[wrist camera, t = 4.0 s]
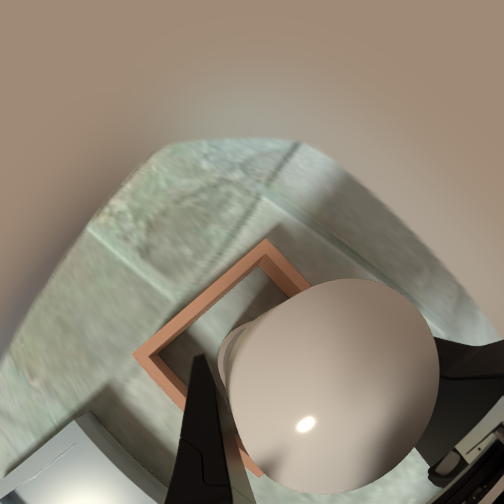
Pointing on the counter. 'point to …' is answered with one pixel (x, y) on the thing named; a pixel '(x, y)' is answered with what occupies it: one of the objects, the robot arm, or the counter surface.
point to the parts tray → (81, 471)
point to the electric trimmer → (447, 469)
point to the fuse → (332, 385)
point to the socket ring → (259, 256)
